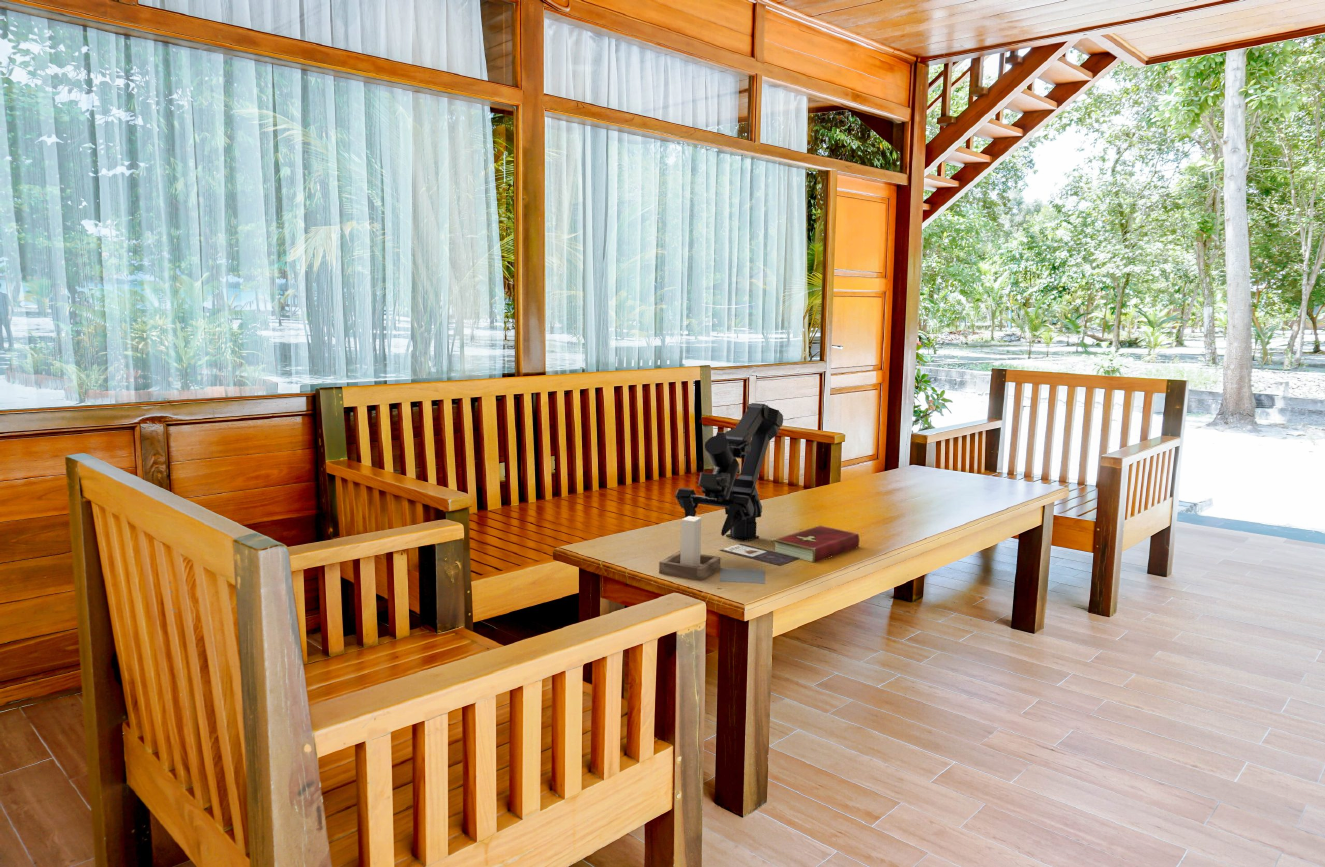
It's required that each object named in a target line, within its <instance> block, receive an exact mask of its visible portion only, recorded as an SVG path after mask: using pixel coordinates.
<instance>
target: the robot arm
mask: <svg viewBox="0 0 1325 867" xmlns="http://www.w3.org/2000/svg"><path fill="white" fill-rule="evenodd" d="M746 408H747V409H746V411H745V413H743V414H742V416H741V418H740V420H739V421H738V422H737V424H736V425H735V427H734V428H731V429H729V430H726V431H725V432H722V431H721V432H720V431H717V432H716V435H714V436H711V437H709V438H708V439H707V440H706V441H705V443H704V449H705V452H706V455H707V456H708V459H709V461H710V463H711V465H712V466H714V468H713V470H712V473H709V472H700V473H699V479H698V482H697V484H698V485H697V486H698V487H701V492H702V493H703V494H704V495H697V494H696V492H695V490H694V489H693V488H684V487H680V488H678V489H677V491H676V493H675V496H674V497H675V499H676V500H677V503H678V504H679V506H680V508H681V509H683V510H684V518H686V517H688V516H692V517H696V514H697V510H696V509H697V508H698V507H699V505H705V506H713V507H718V508H720V507H721V508H724V512H725V515H727V516H726V517H725V520H724V523H723V526H722V529H721V532H720V535H721V537H724V536H725V537H726V538H730V539H733V540H736V541H740V542H747V541H752V540H756V539H759V538H760V536H759V535H757V518H762V512H763V505H762V503H761V500H760V498H759V493H758V489H757V483H758V482H757V481H758V478H759V476H760V475H759V474H760V472H761V469H762V465H763V462H764V459H765V456H766V454H767V449H768V446H769V443H770V441H771V440H773V439H774V438H775V437H777V436H778V435H779V432H780V429H781V427H783V423H784V415H783V414H782V412H781V411H780V410H779V409H775V408H772V407H770V406H769V405H768V404H765V403H757V402H756V403H754V402H751V403H748V405H747V407H746ZM738 459H740V460H741V459H743V464H742V467H741V470H740V463H739V461H738ZM738 474H739V476H738V477H737V475H738ZM736 477H737V478H736ZM729 531H730V532H729Z"/></svg>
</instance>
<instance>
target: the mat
mask: <svg viewBox="0 0 1325 867" xmlns="http://www.w3.org/2000/svg"><path fill="white" fill-rule="evenodd" d="M765 576H766V575H765V570H764V569H751V568H750V569H749V568H727V567H720V574H719V582H720V583H722V582H723V583H739V584H740V583H744V584H761V585H763V584H764V585H765V584H766V577H765Z"/></svg>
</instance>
